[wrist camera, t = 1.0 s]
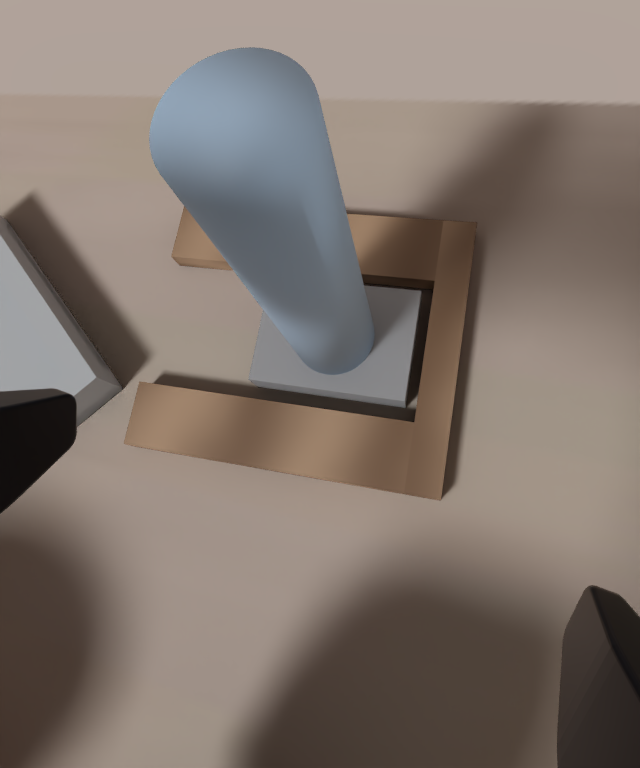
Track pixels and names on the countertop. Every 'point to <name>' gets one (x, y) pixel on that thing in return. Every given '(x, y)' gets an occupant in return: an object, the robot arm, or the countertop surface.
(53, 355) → the tray
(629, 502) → the countertop surface
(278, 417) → the slot
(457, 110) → the countertop surface
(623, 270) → the countertop surface
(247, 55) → the tall blue pillar
